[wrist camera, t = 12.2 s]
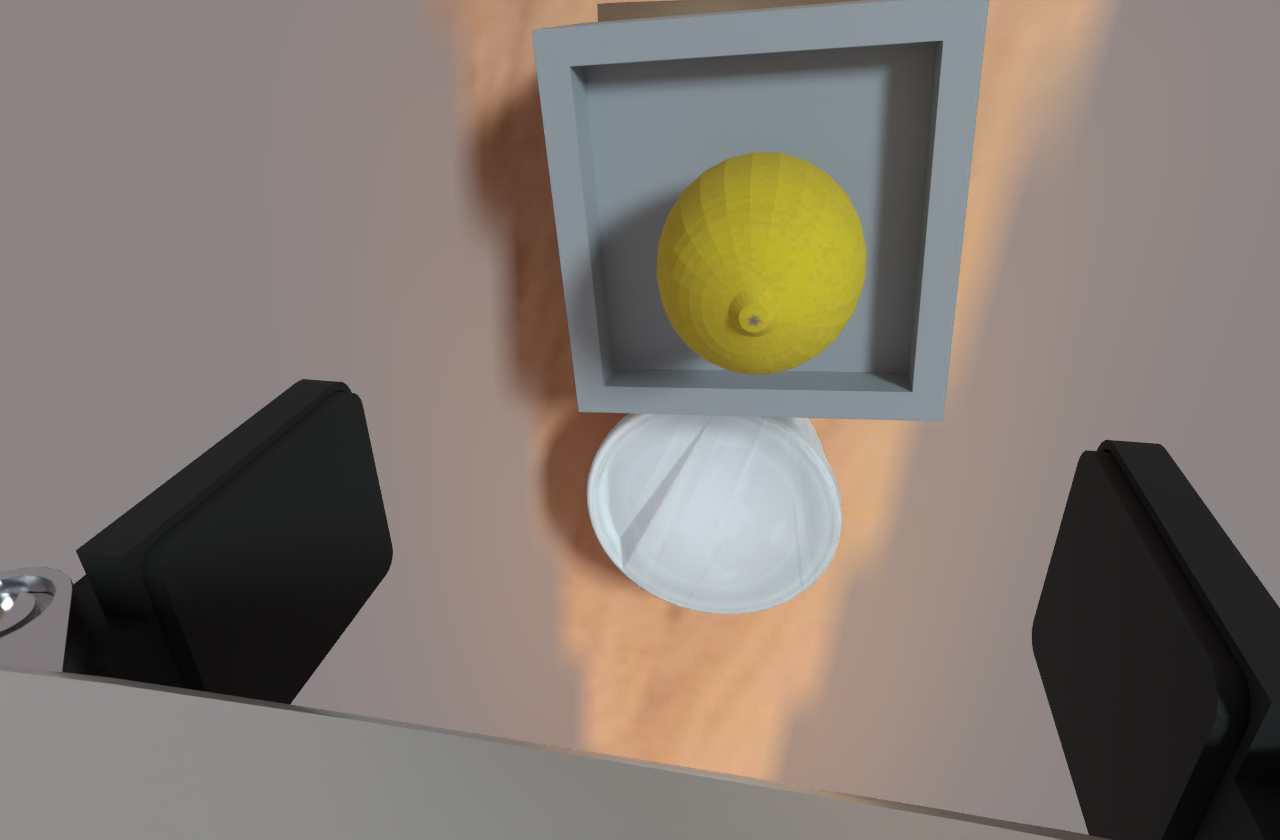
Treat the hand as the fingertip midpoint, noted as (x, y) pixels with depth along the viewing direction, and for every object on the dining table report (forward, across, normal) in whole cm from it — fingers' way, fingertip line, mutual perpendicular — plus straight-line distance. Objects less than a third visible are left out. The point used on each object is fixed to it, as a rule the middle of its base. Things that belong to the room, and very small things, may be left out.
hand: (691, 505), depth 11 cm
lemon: (+17, 0, 0) cm, 17 cm away
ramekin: (+25, +2, +14) cm, 29 cm away
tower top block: (+21, 0, +1) cm, 21 cm away
